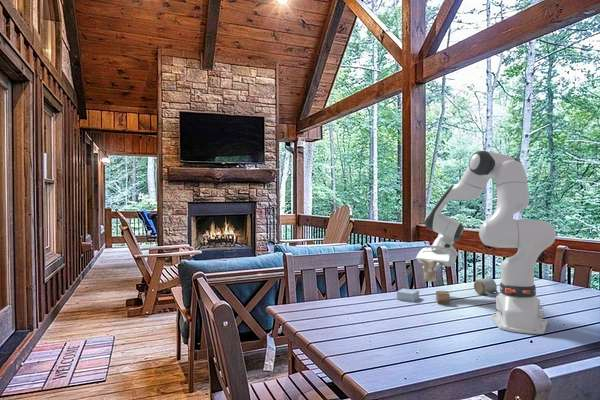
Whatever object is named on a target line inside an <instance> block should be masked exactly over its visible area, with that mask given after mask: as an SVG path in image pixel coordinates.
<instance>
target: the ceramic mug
mask: <svg viewBox="0 0 600 400" xmlns="http://www.w3.org/2000/svg"><path fill="white" fill-rule="evenodd" d="M473 289H474V291H475V293H476V294H478V295H487V296H489V297H493V298H494V297H495V298H496V297H497V296H498V295H499V291H498V290H497V289H498V288H497V283H496V281H495V280H494V279H493V278H491V277H485V278H481V279H477V280H476V281H474V283H473Z"/></svg>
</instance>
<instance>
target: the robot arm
mask: <svg viewBox="0 0 600 400" xmlns="http://www.w3.org/2000/svg"><path fill="white" fill-rule="evenodd" d="M490 179H493V180H495V186H496V187H495V188H496V205H495V206H496V207H495V208H494V212H492V215H491V216H490V217H489V218H488V219H487V220H485V221H484V222H483V223H482V224H481V225H480V227H479V230H478V236H479V239H480V241H481V242H482V244H483V245H484V246H487V247H488V246H489V247H492V248H499V249H500V248H502V249H503V248H505V249H510V248H511V249H517V252H516V253H515V254H514V255H511V256H509V257H507V258H505V259H504V260H503V261H502V262H501V264H500V282H499V292H500V293H498V295H497V296H496V297H495V307H496V308H495V312H496V313H493V314H491V315H490V318H491V319H492V321H493V322H494V323H495V325H496V326H497V328H498V329H500V330H504V331H507V332H514V333H519V334H521V333H522V334H530V335H533V334H534V335H544V334H545V332H546V330H547V326H548V320H547V319H544V317H545V312H544V310H542V309H543V305H541V300H540V298H538V296H536V295H537V287H536V284H535V267H536V262H537V260H538V258H539V257H540V255H541V254H542V253H543V252H544V250H546V249H548V248H550V247H551V246H552V245H553V244H554V243H555V240H556V237H557V236H556V234H557V233H556V230H555V227H554V226H553V224H551V222H549V221H546V220H542V219H541V220H540V219H516V218H514V217H513V216H514V215H515V214H517V213H519V212H521V211H524V210H526V208H527V207H528V206H529V205H530V195H529V184H528V179H527V174H526V170H525V168H524V165H523V164H522V161H521V160H520V159H518V158H517V157H514V156H511V155H507V154H503V153H500V152H494V151H493V152H492V151H487V150H477V151H475V152H473V154H472V155H471V156H470V158H469V162H468V167H467V168H466V169H465V171H464V173H463V174H462V177H461V178H460V180H459V181H458V182H457V183H456V184H452V185H450V186H449V187H448V188H447V189H446V190H445V192H444V193H443V194H442V195H441V197H440V199H439V200H438V201H437V203H436V204H435V206H434V207H433V208H432V210H430V212H428V213H427V215H426V217H425V218H424V222H423V223H424V225H425V228H426V229H427V230H429V231H432V232H435V233H437V234H438V235H437V237H436V238H435V239H434V241H433V242H432V244H431V246H430V247H424V248H422V249H421V250H420V251H419V252H418V253H417V255H416V256H415V259H416V260H417V262H418V263H419V264H423V261H424V260H433V261H435V266H434V267H432V271H435V272H437V270H438V269H440V268H441V267H442V266H443V267H452V266H454V265H455V263H456V260H457V257H458V255H459V252H458V251H457V250H456V248H455V246H453V244H454V243H456V242H458V241H459V240H460V238H461V236H462V234H463V233H464V231H465V229H464V224H462V222H461V221H459V220H456V219H455V218H452V217H450V216H448V215H446V214H444V213H442V211H443V209H444V208H445V207H446V206H447V205H448V203H449V202H450V201H455V200H458V201H472V200H477V199H478V198H479V197H481V195H482V194H483V192H484V190H485V188H486V186H487V184H488V182H489V180H490ZM422 270H423V271H424V267H423V266H422Z"/></svg>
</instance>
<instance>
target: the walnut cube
mask: <svg viewBox="0 0 600 400" xmlns="http://www.w3.org/2000/svg"><path fill="white" fill-rule="evenodd" d="M435 294H436V295H435V296H436V297H435V298H436V299H435V301H436V303H437V305H444V306H445V305H450V304H451V303H450V302H451V301H450V300H451V295H450V293H449V291H448V290H436V291H435Z"/></svg>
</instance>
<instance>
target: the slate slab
mask: <svg viewBox="0 0 600 400" xmlns="http://www.w3.org/2000/svg"><path fill="white" fill-rule="evenodd" d="M418 299H420V290H418V289H412V288H411V289H410V288H401V289H399V290H397V291H396V300H398V301H405V302H412V303H413V302H415V301H417V300H418Z"/></svg>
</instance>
